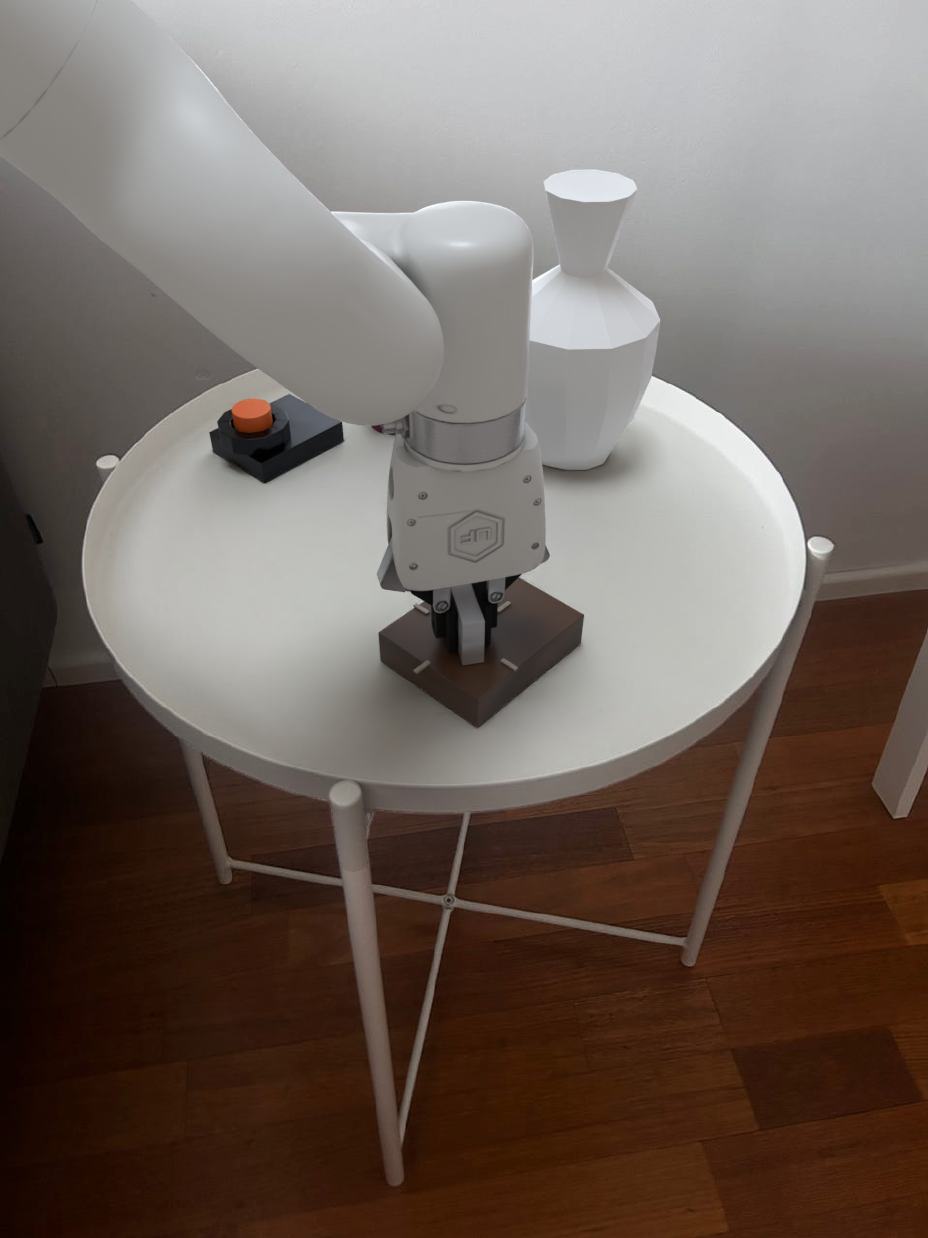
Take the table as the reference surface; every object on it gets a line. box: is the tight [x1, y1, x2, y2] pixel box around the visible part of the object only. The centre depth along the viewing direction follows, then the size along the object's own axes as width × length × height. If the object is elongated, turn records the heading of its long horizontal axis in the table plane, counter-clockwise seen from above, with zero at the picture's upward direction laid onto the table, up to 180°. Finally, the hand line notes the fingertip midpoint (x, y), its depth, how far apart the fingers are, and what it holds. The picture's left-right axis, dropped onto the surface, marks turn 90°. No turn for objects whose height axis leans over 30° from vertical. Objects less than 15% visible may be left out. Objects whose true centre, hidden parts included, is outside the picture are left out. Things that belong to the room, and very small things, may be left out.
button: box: [231, 398, 273, 433], centre depth 95 cm, size 4×4×2 cm
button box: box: [208, 393, 345, 484], centre depth 97 cm, size 11×8×4 cm
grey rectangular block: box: [450, 583, 485, 665], centre depth 73 cm, size 6×2×4 cm, turn 13°
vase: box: [525, 168, 661, 471], centre depth 90 cm, size 14×14×25 cm
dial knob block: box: [377, 577, 585, 728], centre depth 76 cm, size 13×10×3 cm
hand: (464, 635), depth 74 cm, fingers closed, pressing on grey rectangular block
